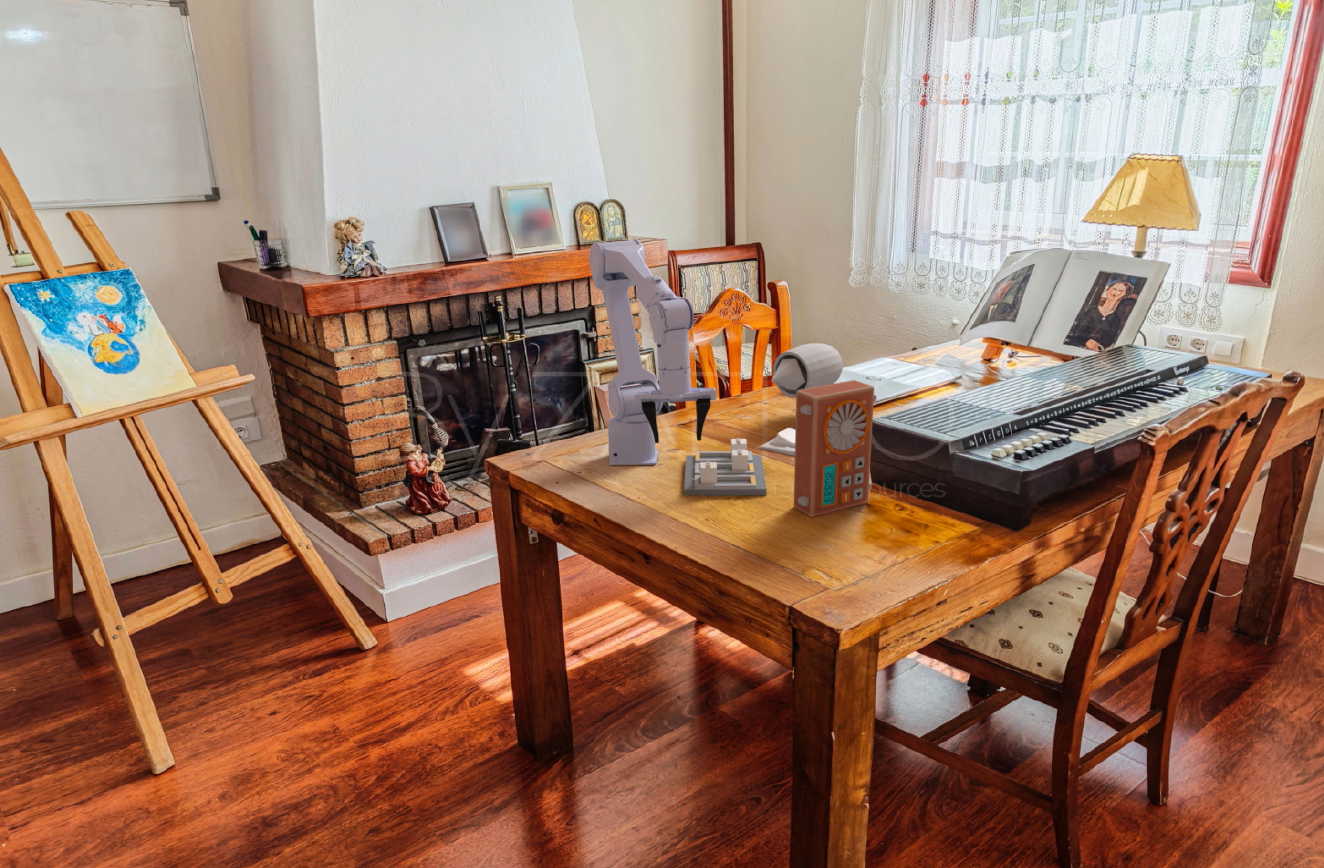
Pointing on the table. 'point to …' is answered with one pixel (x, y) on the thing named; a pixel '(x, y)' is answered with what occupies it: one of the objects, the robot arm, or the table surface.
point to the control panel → (833, 447)
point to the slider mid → (739, 460)
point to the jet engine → (806, 368)
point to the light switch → (782, 442)
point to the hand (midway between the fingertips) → (677, 440)
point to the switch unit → (725, 475)
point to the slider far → (738, 444)
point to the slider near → (708, 472)
